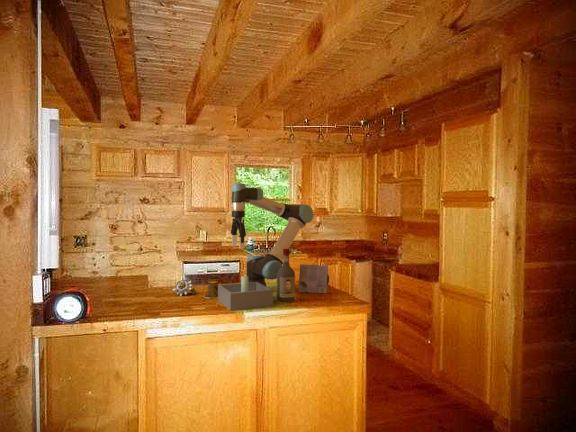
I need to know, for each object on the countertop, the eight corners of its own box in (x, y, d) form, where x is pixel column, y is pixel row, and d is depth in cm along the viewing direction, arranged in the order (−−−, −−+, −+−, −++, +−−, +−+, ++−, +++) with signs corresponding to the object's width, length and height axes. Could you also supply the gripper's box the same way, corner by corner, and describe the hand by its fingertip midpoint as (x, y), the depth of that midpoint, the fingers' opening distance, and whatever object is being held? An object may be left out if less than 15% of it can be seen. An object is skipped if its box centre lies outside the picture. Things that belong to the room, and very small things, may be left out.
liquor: (275, 299, 231) (276, 248, 231) (290, 298, 235) (290, 248, 234) (280, 303, 223) (281, 250, 222) (295, 301, 226) (296, 249, 225)
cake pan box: (328, 292, 253) (329, 264, 253) (328, 293, 248) (329, 265, 248) (299, 290, 255) (299, 263, 255) (298, 292, 250) (298, 264, 250)
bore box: (217, 300, 227) (218, 284, 227) (256, 296, 237) (257, 281, 237) (230, 310, 205) (230, 293, 205) (272, 306, 216) (273, 289, 215)
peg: (240, 302, 222) (240, 276, 222) (246, 302, 224) (247, 275, 223) (242, 304, 219) (242, 277, 218) (249, 303, 220) (249, 277, 220)
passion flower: (181, 305, 237) (168, 289, 234) (184, 297, 247) (173, 282, 245) (196, 295, 236) (184, 279, 233) (199, 287, 246) (188, 272, 244)
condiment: (220, 297, 236) (220, 277, 235) (206, 298, 231) (207, 278, 231) (215, 294, 242) (215, 275, 241) (202, 296, 237) (202, 276, 237)
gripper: (225, 209, 235) (225, 245, 235) (239, 210, 212) (238, 250, 213) (237, 210, 238) (237, 245, 239) (252, 210, 216) (251, 249, 216)
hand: (237, 247), depth 226 cm, fingers open, 13 cm apart
